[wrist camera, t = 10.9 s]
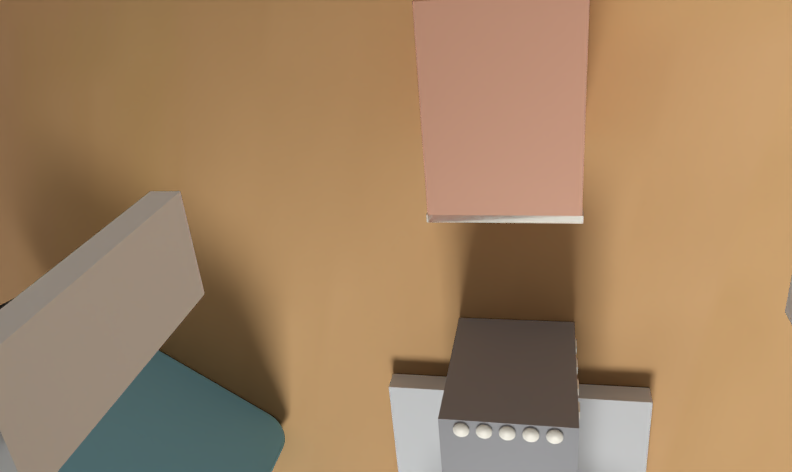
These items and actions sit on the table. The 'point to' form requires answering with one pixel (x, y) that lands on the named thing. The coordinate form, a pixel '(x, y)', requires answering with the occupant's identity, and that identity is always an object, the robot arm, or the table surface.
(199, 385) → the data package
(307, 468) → the table surface
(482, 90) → the pink block
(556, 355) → the grey flanged post
